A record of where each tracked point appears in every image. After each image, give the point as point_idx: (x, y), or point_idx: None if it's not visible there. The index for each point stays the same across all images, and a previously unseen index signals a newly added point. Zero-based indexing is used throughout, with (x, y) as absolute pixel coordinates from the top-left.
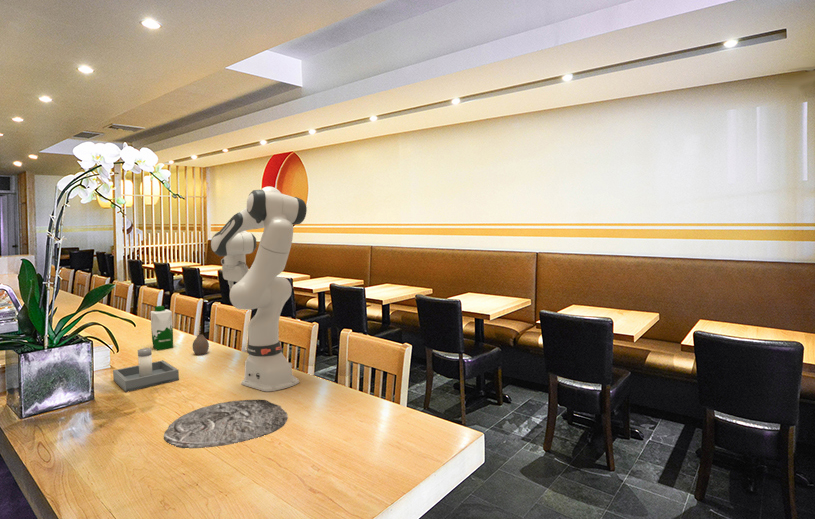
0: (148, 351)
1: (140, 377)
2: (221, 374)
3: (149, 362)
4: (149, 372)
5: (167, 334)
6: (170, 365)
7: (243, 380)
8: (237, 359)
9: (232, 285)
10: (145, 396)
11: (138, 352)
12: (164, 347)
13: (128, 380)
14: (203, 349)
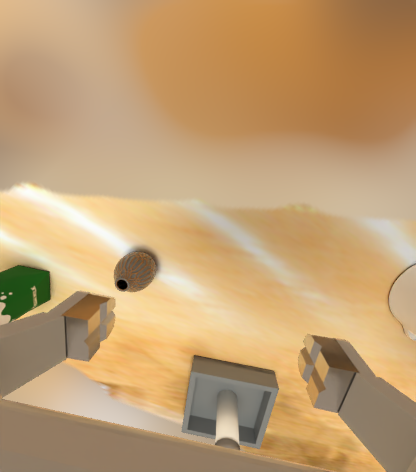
0: None
1: (261, 432)
2: (317, 320)
3: (238, 428)
4: (237, 408)
5: (21, 301)
6: (238, 382)
7: (412, 335)
8: (256, 245)
9: (53, 335)
10: (300, 425)
11: None
12: (46, 289)
13: (259, 445)
14: (155, 272)
